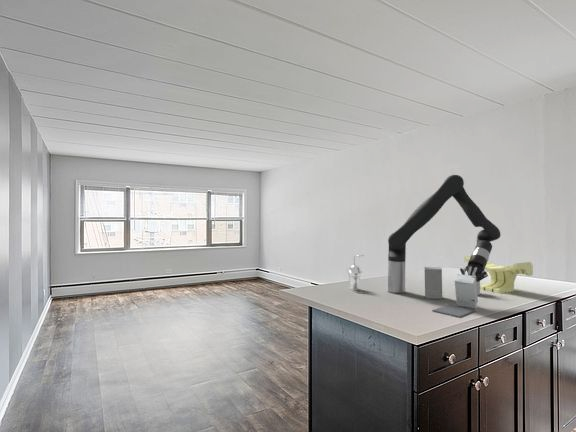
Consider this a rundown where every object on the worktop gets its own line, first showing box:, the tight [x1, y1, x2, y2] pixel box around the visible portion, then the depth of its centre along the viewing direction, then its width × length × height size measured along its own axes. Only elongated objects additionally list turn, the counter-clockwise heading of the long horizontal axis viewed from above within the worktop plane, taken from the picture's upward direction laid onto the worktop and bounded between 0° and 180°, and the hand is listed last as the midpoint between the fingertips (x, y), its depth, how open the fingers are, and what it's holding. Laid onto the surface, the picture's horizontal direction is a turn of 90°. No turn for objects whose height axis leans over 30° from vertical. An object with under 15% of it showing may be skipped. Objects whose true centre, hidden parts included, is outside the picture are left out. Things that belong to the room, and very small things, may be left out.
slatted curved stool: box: [463, 255, 534, 294], centre depth 200 cm, size 30×16×18 cm, turn 28°
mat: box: [431, 303, 477, 319], centre depth 155 cm, size 16×12×1 cm
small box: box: [465, 272, 481, 296], centre depth 190 cm, size 8×6×10 cm
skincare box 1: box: [424, 266, 443, 300], centre depth 180 cm, size 8×7×16 cm
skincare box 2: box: [454, 273, 479, 310], centre depth 160 cm, size 8×6×15 cm
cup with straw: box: [346, 254, 365, 291], centre depth 199 cm, size 8×9×20 cm
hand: (467, 286), depth 163 cm, fingers closed
